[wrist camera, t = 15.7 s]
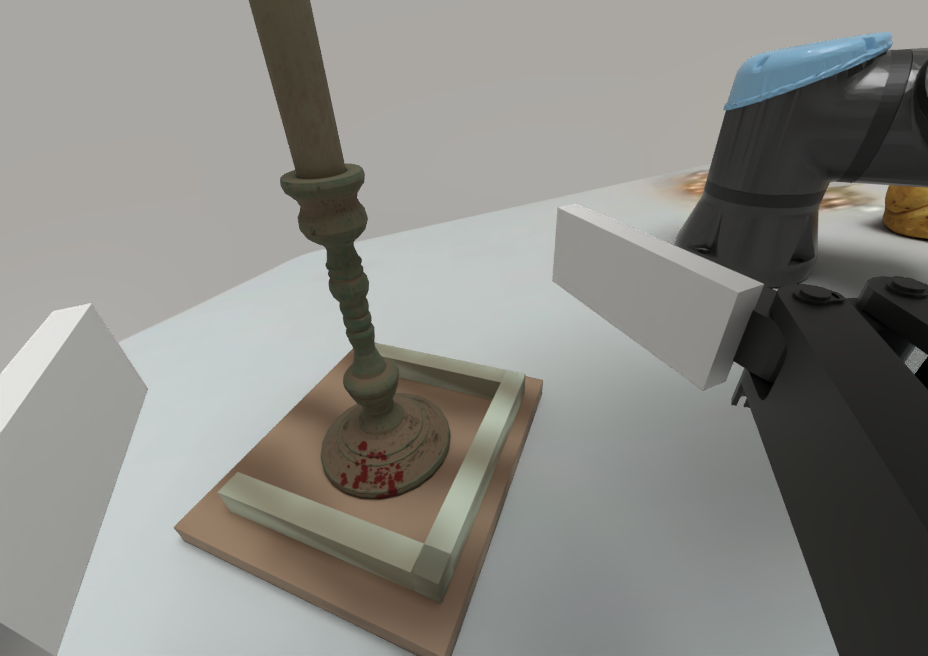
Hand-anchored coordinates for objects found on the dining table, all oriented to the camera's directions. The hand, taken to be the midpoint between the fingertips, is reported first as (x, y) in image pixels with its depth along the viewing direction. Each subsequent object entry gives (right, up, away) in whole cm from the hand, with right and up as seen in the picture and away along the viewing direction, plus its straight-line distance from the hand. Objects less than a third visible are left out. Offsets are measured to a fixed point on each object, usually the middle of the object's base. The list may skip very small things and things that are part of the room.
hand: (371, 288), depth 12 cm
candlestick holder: (-3, -10, +17) cm, 20 cm away
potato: (+68, +13, +45) cm, 82 cm away
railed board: (-3, -11, +18) cm, 21 cm away
